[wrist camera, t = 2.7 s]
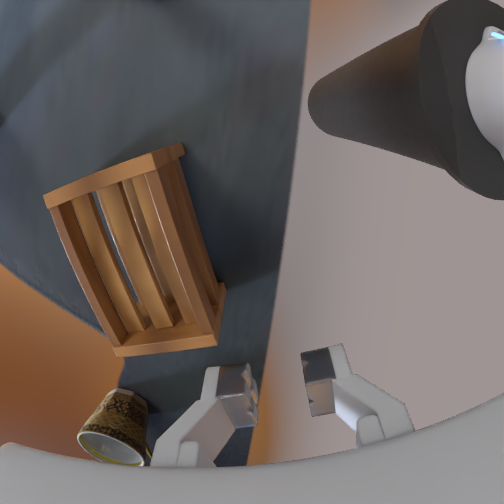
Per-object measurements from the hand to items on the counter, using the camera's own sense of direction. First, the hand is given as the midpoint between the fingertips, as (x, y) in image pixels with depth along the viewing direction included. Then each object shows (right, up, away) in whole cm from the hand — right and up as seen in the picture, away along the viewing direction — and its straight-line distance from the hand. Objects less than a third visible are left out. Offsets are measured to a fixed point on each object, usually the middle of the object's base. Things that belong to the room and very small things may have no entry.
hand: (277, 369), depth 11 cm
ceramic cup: (-19, -20, +32) cm, 42 cm away
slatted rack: (-10, +6, +21) cm, 24 cm away
